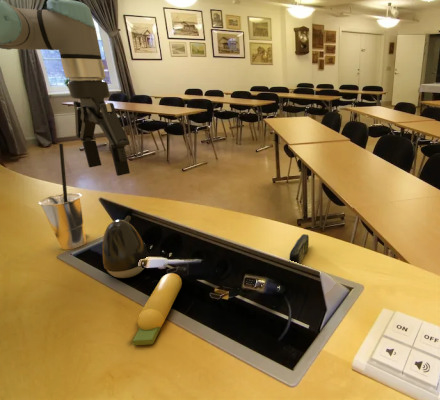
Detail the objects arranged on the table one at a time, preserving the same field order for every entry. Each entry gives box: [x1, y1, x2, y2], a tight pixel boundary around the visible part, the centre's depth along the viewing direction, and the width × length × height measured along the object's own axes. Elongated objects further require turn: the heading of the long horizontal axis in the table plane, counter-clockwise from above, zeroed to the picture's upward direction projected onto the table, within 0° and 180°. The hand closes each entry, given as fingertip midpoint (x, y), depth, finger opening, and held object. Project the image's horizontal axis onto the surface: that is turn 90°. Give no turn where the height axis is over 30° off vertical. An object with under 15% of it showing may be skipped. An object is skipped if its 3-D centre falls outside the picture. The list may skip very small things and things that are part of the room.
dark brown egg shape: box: [101, 215, 149, 279], centre depth 83 cm, size 10×10×15 cm
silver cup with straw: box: [37, 143, 87, 251], centre depth 95 cm, size 11×11×30 cm
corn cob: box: [132, 272, 183, 346], centre depth 70 cm, size 5×20×5 cm, turn 6°
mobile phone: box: [289, 233, 310, 264], centre depth 93 cm, size 5×3×15 cm
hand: (108, 170), depth 80 cm, fingers open, 13 cm apart
